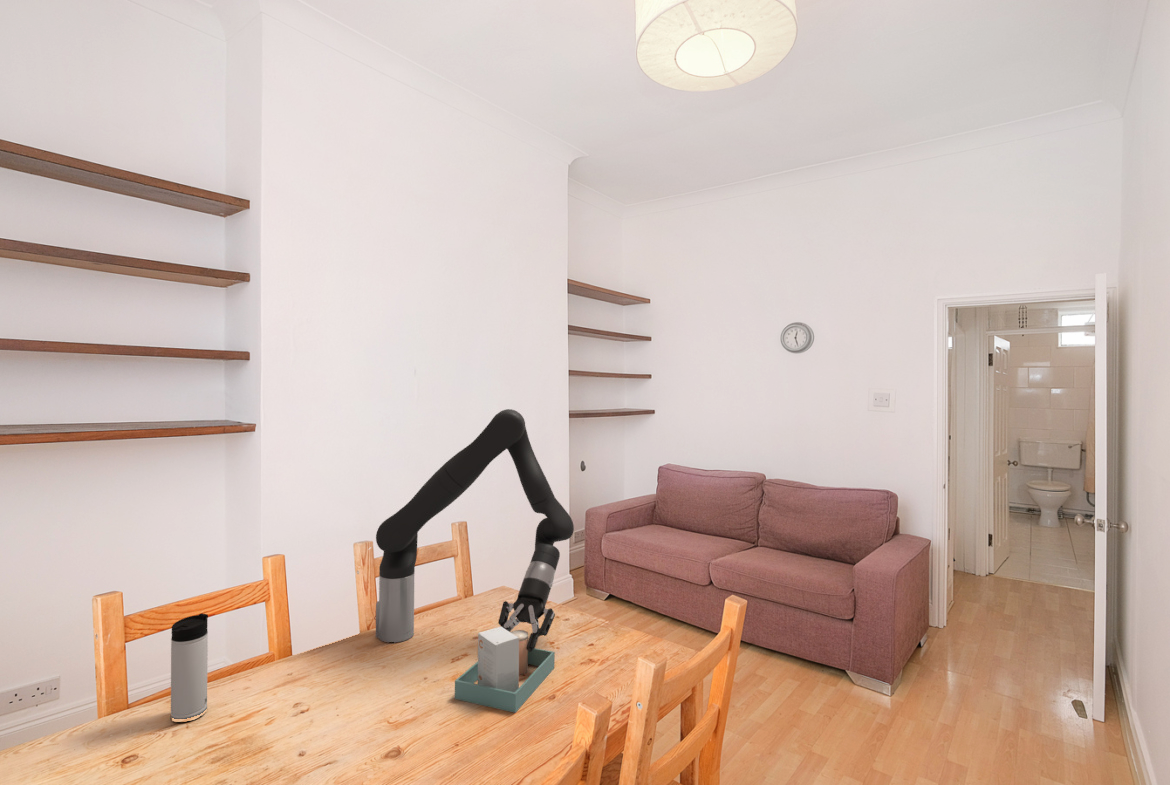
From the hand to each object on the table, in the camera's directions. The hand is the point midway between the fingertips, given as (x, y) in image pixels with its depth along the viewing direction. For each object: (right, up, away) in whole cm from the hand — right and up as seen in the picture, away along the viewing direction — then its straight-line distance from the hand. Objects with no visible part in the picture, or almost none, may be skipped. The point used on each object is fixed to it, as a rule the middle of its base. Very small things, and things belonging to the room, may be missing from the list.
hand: (516, 647), depth 139 cm
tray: (-2, -6, -4) cm, 8 cm away
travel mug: (-66, -6, -19) cm, 69 cm away
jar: (0, -6, +2) cm, 7 cm away
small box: (-3, -7, -8) cm, 11 cm away
